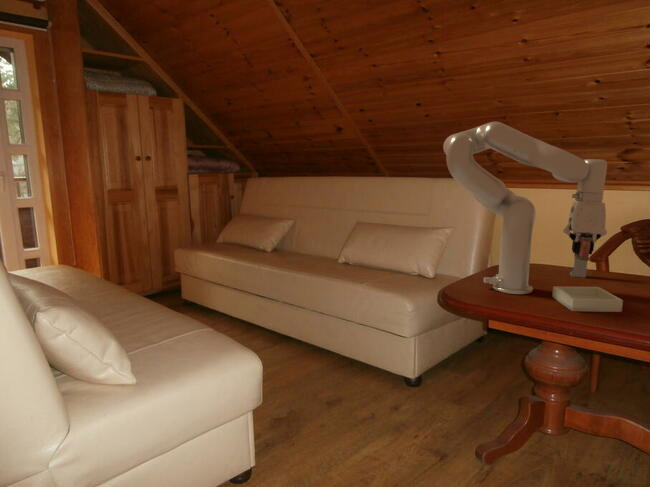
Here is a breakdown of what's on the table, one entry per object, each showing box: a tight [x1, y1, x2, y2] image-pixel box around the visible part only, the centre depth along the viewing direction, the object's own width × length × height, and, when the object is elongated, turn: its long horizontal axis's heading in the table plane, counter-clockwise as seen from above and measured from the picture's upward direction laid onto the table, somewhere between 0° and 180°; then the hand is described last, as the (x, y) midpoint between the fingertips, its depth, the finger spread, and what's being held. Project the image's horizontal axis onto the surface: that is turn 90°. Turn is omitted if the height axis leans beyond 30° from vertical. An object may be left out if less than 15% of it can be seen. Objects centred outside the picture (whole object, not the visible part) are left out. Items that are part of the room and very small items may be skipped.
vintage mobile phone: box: [569, 257, 588, 279], centre depth 172 cm, size 4×5×25 cm
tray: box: [552, 285, 624, 313], centre depth 142 cm, size 14×14×4 cm
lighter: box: [573, 232, 592, 262], centre depth 152 cm, size 8×3×10 cm, turn 169°
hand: (582, 252), depth 153 cm, fingers closed on lighter, 3 cm apart
